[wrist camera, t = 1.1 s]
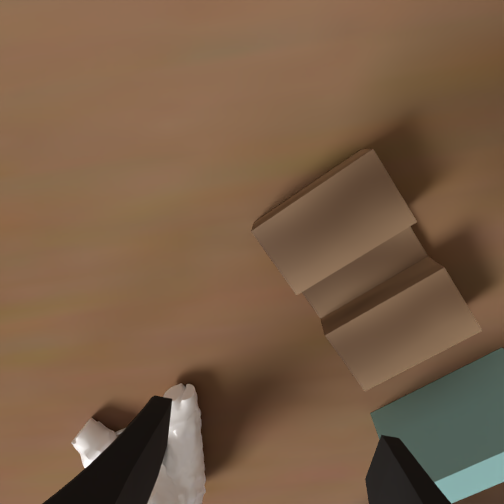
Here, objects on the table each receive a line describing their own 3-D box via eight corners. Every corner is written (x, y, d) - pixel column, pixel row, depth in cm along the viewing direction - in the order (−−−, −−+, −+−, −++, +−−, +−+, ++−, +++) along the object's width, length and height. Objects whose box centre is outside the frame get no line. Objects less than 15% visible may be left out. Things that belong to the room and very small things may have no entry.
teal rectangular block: (512, 366, 22) (597, 442, 16) (382, 429, 24) (415, 518, 18) (501, 346, 22) (582, 417, 16) (370, 412, 23) (399, 496, 18)
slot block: (459, 310, 21) (482, 330, 19) (355, 366, 22) (364, 391, 20) (361, 149, 19) (373, 148, 17) (254, 222, 20) (251, 231, 18)
